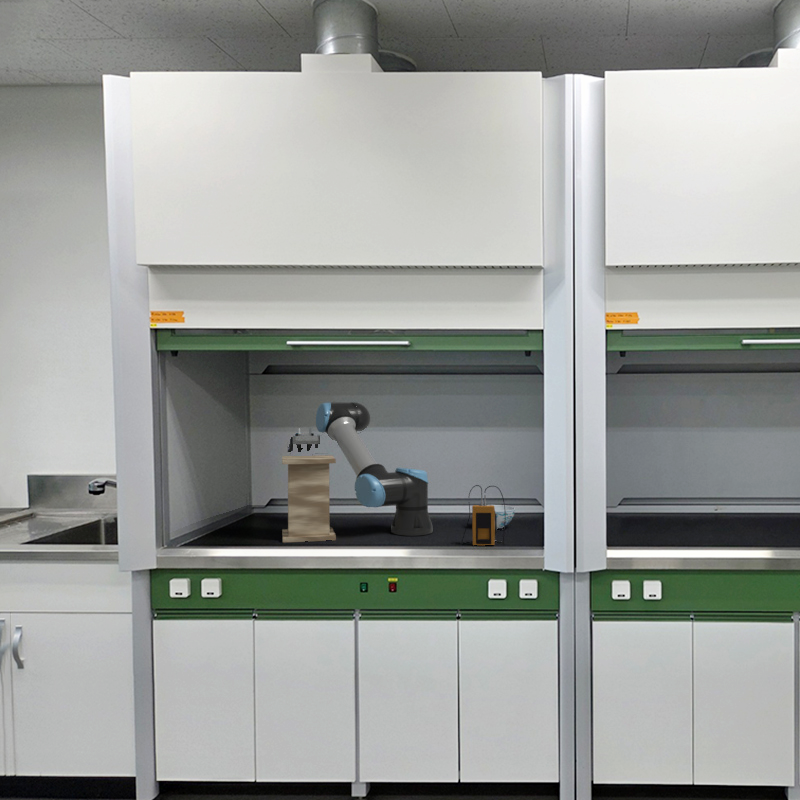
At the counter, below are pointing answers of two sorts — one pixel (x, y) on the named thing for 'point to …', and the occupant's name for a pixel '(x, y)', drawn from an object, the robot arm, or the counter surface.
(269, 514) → the counter surface
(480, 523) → the multimeter
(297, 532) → the stand
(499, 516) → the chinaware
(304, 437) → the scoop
